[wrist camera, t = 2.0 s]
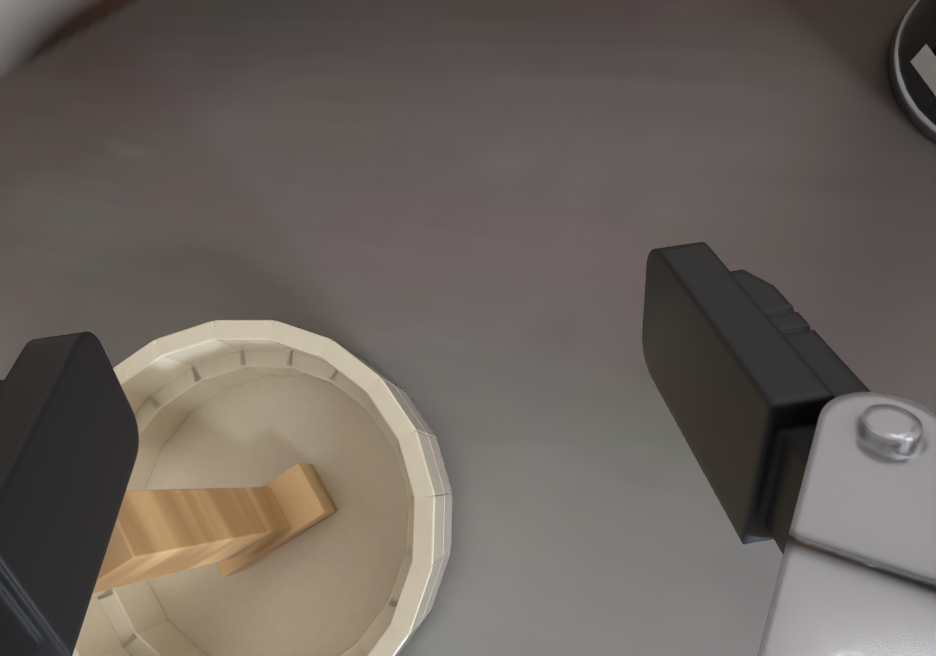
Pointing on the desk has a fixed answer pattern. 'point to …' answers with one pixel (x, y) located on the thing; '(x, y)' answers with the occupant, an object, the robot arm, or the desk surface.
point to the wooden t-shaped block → (210, 526)
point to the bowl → (260, 460)
